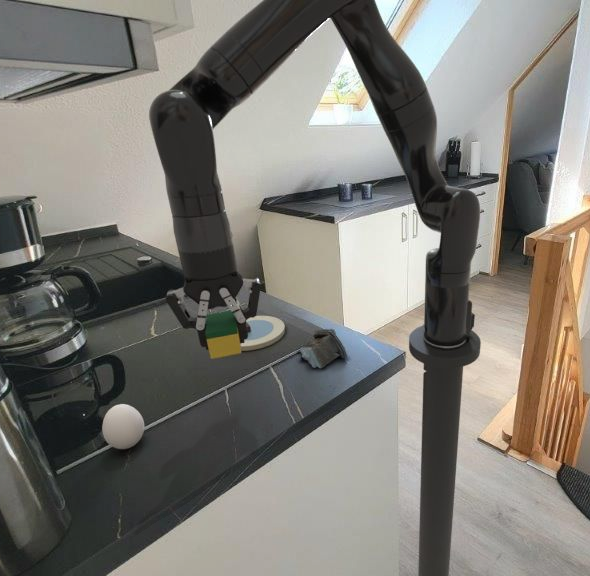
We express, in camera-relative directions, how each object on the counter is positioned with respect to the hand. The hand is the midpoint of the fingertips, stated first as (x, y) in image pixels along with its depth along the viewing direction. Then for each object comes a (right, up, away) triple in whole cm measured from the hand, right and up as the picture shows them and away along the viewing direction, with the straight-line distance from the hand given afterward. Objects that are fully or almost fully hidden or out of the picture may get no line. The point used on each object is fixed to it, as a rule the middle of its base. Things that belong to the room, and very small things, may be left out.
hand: (225, 343), depth 66 cm
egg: (-14, -16, -3) cm, 21 cm away
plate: (-5, -2, +29) cm, 30 cm away
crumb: (-7, -1, +28) cm, 29 cm away
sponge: (0, 0, 0) cm, 0 cm away
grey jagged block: (+12, -6, +20) cm, 24 cm away
